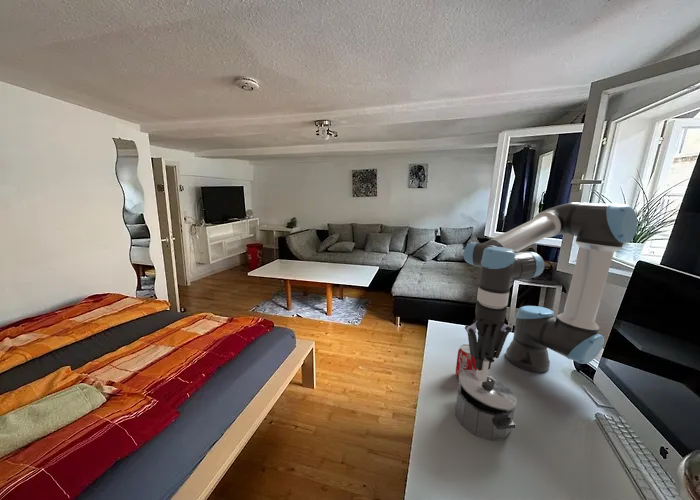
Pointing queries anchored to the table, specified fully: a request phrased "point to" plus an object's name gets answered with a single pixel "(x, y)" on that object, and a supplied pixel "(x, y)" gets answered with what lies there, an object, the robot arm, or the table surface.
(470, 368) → the soda can
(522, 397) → the table surface
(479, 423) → the pot
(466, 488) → the table surface
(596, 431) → the table surface
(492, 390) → the lid
